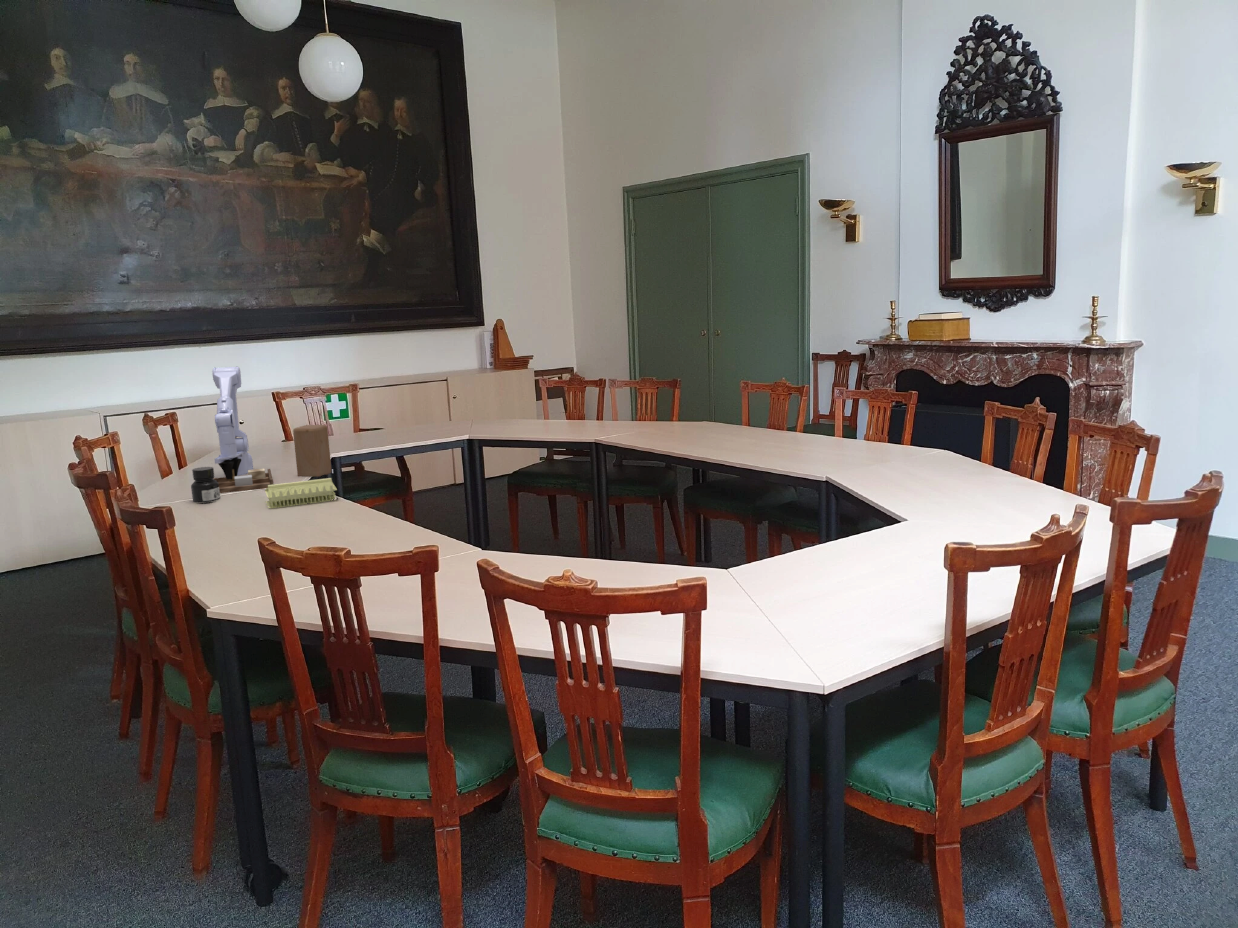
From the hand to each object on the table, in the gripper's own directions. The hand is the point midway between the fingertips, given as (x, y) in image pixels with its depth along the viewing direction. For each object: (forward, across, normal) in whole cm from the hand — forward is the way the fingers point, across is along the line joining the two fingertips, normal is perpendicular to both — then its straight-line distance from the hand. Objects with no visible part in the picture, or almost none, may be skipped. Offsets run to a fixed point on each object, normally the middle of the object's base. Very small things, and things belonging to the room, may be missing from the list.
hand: (231, 478), depth 337 cm
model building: (+3, +21, +43) cm, 48 cm away
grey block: (+2, +6, +10) cm, 12 cm away
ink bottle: (+3, +26, +9) cm, 27 cm away
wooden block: (+3, -19, +24) cm, 31 cm away
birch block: (+2, -3, +4) cm, 6 cm away
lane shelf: (+3, +3, +5) cm, 6 cm away
